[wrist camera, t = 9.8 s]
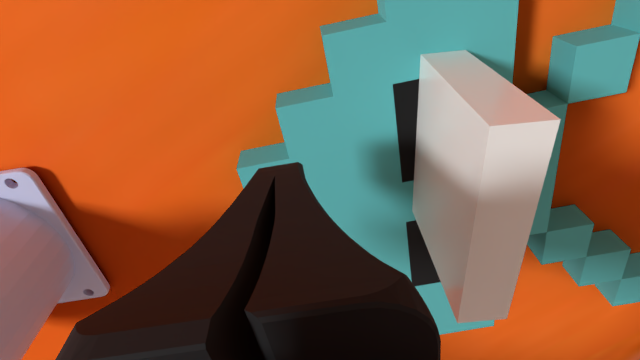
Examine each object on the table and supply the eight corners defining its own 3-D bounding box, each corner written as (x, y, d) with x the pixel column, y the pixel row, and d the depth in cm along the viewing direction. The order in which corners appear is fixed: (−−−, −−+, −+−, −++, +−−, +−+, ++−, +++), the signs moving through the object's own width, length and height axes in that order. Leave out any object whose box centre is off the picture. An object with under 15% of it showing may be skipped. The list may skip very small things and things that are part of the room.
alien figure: (761, -146, 13) (188, -15, 14) (839, -159, 11) (172, -7, 12) (625, 270, 24) (304, 324, 25) (653, 299, 22) (305, 356, 23)
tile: (412, 210, 18) (457, 323, 13) (420, 54, 14) (489, 126, 9) (447, 207, 18) (507, 318, 13) (465, 50, 14) (560, 119, 9)
